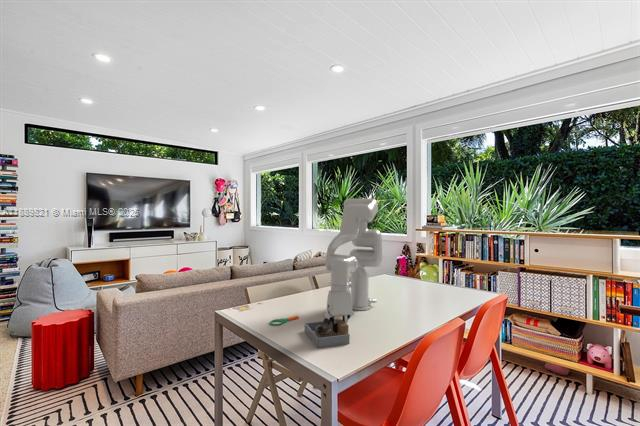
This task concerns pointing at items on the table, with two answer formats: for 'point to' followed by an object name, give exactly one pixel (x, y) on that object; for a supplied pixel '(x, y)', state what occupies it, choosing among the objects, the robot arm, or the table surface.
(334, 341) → the grey bent bar
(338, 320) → the brown rectangular block
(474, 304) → the table surface
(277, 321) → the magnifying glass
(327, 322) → the eagle figurine
